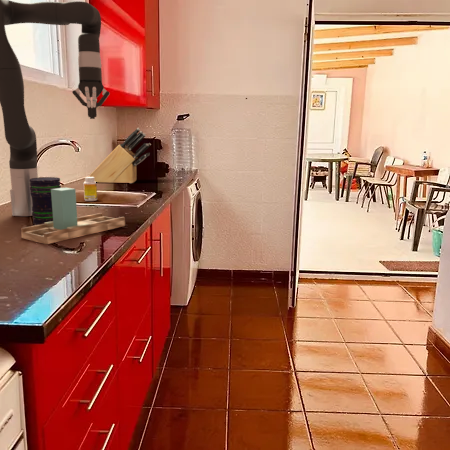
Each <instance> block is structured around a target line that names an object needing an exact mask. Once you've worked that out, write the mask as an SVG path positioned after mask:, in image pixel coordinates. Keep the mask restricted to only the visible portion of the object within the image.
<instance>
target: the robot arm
mask: <svg viewBox="0 0 450 450" xmlns="http://www.w3.org/2000/svg"><path fill="white" fill-rule="evenodd" d="M18 24H19V25H20V24H42V25H51V26H52V25H53V26H67V25H68V26H69V25H70V24H76V25H81V28H80V29H81V30H80V34H79V35H78V37H77V46H78V47H77V49H78V50H77V51H78V58H77V59H78V62H77V63H78V79H79V80H78V81H79V83H78V85H77V88H76V89H74V90H72V94H73V95H74V97H75V98H76V99H77V100H78V101H79V103H80V104H81V105H82V106H84V107H86V109H87V117H88V118H89V119H90V120H96V118H97V116H98V115H97V108H99V107H101V106H102V105H103V104H104V102H106V100H107V98H108V97H109V96H110V94H111V93H110V91H108V90H106V88H105V87H104V85H103V77H102V74H103V73H102V65H103V64H102V58H101V49H100V48H101V47H100V37H101V29H102V16H101V14H100V11H99V10H98V9H97V8H96V7H95V6H93V5H92V4H91V3H89V2H87V1H69V2H68V1H67V2H60V1H37V2H32V3H31V2H30V3H28V2H27V3H23V2H17V1H13V0H0V107H1V111H2V118H3V129H4V138H5V141H6V143H7V144H8V145H9V162H8V163H9V165H8V166H9V174H10V184H11V185H10V186H11V188H10V190H9V193H10V204H11V205H10V206H11V214H12V215H11V216H13V217H14V216H15V217H31V216H32V212H33V211H32V196H31V194H30V193H31V190H30V187H31V186H30V179H32V178H39V175H38V174H39V173H38V147H37V146H38V145H37V136H36V132H35V130H34V129H33V127H32V126H31V125H29V122H28V121H29V120H28V118H27V115H26V114H27V113H26V110H25V85H24V77H23V73H22V67H21V64H20V61H19V58H18V57H17V55H16V52H15V51H14V49H13V47H12V46H11V43H10V41H9V39H8V36H7V32H6V27H5V26H10V25H18ZM81 94H82V95H83V96H84V97H85V99H86V101H85V100H84V99H83V98H82V97H81ZM101 94H102V97H101V98H100V100H99V101H98V97H99V96H100V95H101ZM97 101H98V102H97ZM32 217H33V216H32Z"/></svg>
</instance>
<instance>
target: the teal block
mask: <svg viewBox="0 0 450 450" xmlns="http://www.w3.org/2000/svg"><path fill="white" fill-rule="evenodd" d="M76 193H77V192H76V188H73V187H72V188H71V187H61V188H57V189H51V197H52V211H53V225H54V228H56V229H60V230H62V229H67V227H71V226H76V225H78V224H77V217H78V210H77V208H78V207H77V194H76Z"/></svg>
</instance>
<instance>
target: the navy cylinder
mask: <svg viewBox="0 0 450 450" xmlns="http://www.w3.org/2000/svg"><path fill="white" fill-rule="evenodd" d="M30 186H31V187H30V190H31V193H30V194H31V196H32V211H33V212H32V220H33V221H32V224H33V225H40V224H45V222H51V221H53V211H52V197H51V189H57V188H62V186H61V178H60V177H55V176H54V177H53V176H50V177H49V176H48V177H47V176H45V177H41V176H40V177H38V178H32V179H30Z"/></svg>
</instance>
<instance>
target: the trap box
mask: <svg viewBox="0 0 450 450" xmlns="http://www.w3.org/2000/svg"><path fill="white" fill-rule="evenodd" d="M77 224H78V225H76V226H71V227H67V229H62V230H60V229H56V228H54V225H53V221H51V222H45V224H40V225H37V224H34V225H31V226H25V227H22V228H20V232H21V233H20V234H21V239H23V240H24V239H25V240H27V241H28V240H29V241H31V242H35V243H40V244H43V245H49V244H53V243H57V242H62V241H67V240H71V239H74V238H78V237H83V236H88V235H92V234H97V233H100V232H104V231H108V230H114V229H118V228H121V227H126V218H125V216H120V217H116V218H115V217H109V216H104V215H103V213H102V212H99V213H94V214H89V215H82V216H77Z"/></svg>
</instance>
